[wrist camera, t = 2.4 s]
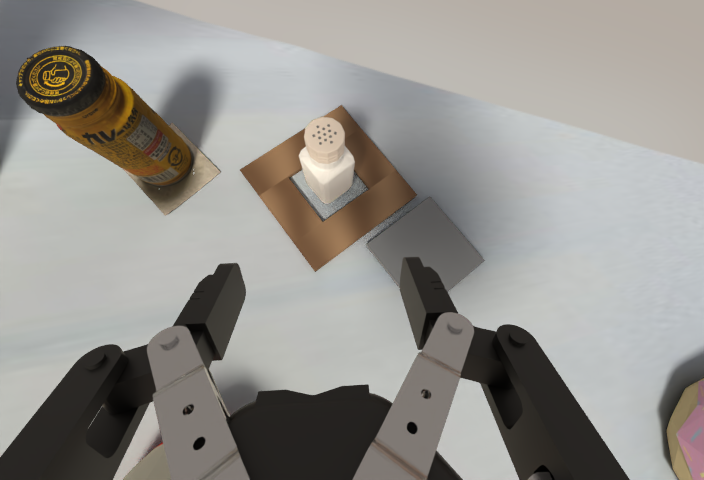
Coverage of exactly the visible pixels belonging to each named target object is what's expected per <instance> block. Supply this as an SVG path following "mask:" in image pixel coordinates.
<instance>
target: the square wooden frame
mask: <svg viewBox="0 0 704 480" xmlns="http://www.w3.org/2000/svg"><path fill="white" fill-rule="evenodd" d="M324 117H328V118H333V119H334V120H336V121H337V122H339V123H340V124H341V125H342V127H343V129H344V132H345V146H346V148H347V149H348V150H349V151H350V153H351V154H352V155H353V157H354V161H355V165H354V172H355V173H356V174H357V175H358V176H359V178H360V179H361V180H362V181H363V183H364V184H365V185H366V186H367V187H368V190H367V191H366V192H364V193H363V194H361V195H360V196H359V197H357V198H356V199H354V200H353V201H352V202H350V203H349V204H347V205H346V206H345V207H343V208H342V209H340V210H339V211H338V212H336V213H335V214H333V215H332V216H331V217H329V218H328V219H326V220H325V221H324V222H322V221H321V219H320V218H319V217H318V215H317V214H316V213H315V211H314V210H313V209H312V208H311V206H310V205H309V204H308V202H307V201H306V200H305V198H304V197H303V196H302V195H301V193H300V192H299V191H298V189H297V188H296V187H295V185H294V184H293V183H292V182H291V180H290V179H289V178H290V177H292V176H293V175H295V174H296V173H298V172H299V171H301V170H302V165H301V162H300V158H299V154H300V152H301V150H302V149H303V148H304V147H305V146H306V144H305V140H304V134H305V129H303V130H302V131H300V132H299V133H297V134H295V135H294V136H292V137H291V138H289V139H288V140H286V141H284V142H283V143H281V144H280V145H278V146H277V147H275V148H273V149H272V150H270V151H269V152H267V153H266V154H264V155H262V156H261V157H259V158H258V159H256V160H255V161H253V162H251V163H250V164H248V165H247V166H245V167H244V168H242V169H240V171H241V172H242V174H243V175H244V176H245V178H246V179H247V180H248V182H249V183H250V184H251V186H252V187H253V188H254V190H255V191H256V192H257V194H258V195H259V197H260V198H261V199H262V201H263V202H264V203H265V205H266V206H267V207H268V209H269V210H270V211H271V213H272V214H273V215H274V217H275V218H276V219H277V221H278V222H279V224H280V225H281V226H282V228H283V229H284V230H285V232H286V233H287V234H288V236H289V237H290V238H291V240H292V241H293V242H294V244H295V245H296V246H297V248H298V249H299V251H300V252H301V253H302V255H303V256H304V257H305V259H306V260H307V261H308V263H309V264H310V265H311V267H312V268H313V269H314V271H315V272H316V271H317V270H318V269H320V268H321V267H322V266H324V265H325V264H326V263H328V262H329V261H330V260H332V259H333V258H334V257H336V256H337V255H338V254H340V253H341V252H342V251H344V250H345V249H346V248H348V247H349V246H350V245H352V244H353V243H354V242H356V241H357V240H358V239H360V238H361V237H362V236H364V235H365V234H366V233H368V232H369V231H371V230H372V229H373V228H375V227H376V226H377V225H379V224H380V223H381V222H383V221H384V220H385V219H387V218H388V217H389V216H391V215H392V214H393V213H395V212H396V211H397V210H399V209H400V208H401V207H403V206H404V205H405V204H407V203H408V202H409V201H411V200H412V199H413V198H415V197H416V196H417V194H416V193H415V192H414V191H413V189H412V188H411V187H410V186H409V185H408V183H407V182H406V181H405V180H404V179H403V178H402V176H401V175H400V174H399V173H398V172H397V170H396V169H395V168H394V167H393V166H392V165H391V163H390V162H389V161H388V160H387V159H386V157H385V156H384V155H383V154H382V153H381V152H380V150H379V149H378V148H377V147H376V146H375V144H374V143H373V142H372V141H371V140H370V139H369V137H368V136H367V135H366V134H365V133H364V131H363V130H362V129H361V128H360V127H359V126H358V124H357V123H356V122H355V121H354V120H353V118H352V117H351V116H350V115H349V114H348V113H347V111H346V110H345V109H344V108H343V107H342V105H341V106H339V107H338V108H336V109H335V110H333V111H331V112H330V113H328V114H327V115H325V116H324Z"/></svg>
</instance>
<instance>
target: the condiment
mask: <svg viewBox="0 0 704 480" xmlns="http://www.w3.org/2000/svg"><path fill="white" fill-rule="evenodd" d="M16 84H17V88H18V93H19V95H20V97H21V98H22V99H23V100H24V101H25V102H26V103H27V104H28V105H29V106H30V107H31V108H32V109H34V110H36V111H37V112H39V113H42V114H44V115H45V116H46V117H47V118H49V119H50V120H52V121H53V122H54V123H56V124H57V126H58V127H59V129H60V130H62V131H63V132H64V133H65V134H66V135H67V136H69V137H70V138H72V139H74V140H75V141H77V142H78V143H81V144H82V145H84V146H86V147H87V148H89V149H91V150H93V151H94V152H96V153H98V154H99V155H101V156H103V157H104V158H106V159H108V160H110V161H111V162H113V163H114V164H116V165H118V166H119V167H121V168H123V169H124V171H125V172H126V173H127V174H128V175H129V176H130V177H131V178H132V179H133V180H134V181H135V182H136V184H137V185H138V186H139V187H140V188H141V189H142V190H143V191H144V193H145V194H146V195H147V196H148V197H149V198H150V199H151V200H152V201H153V202H154V203H155V204H156V206H157V207H158V208H159V209H160V210H161V211H162V212H163V213H164V215H167V214H168V213H170V212H171V211H172V210H174V209H175V208H177V207H178V206H179V205H181V204H182V203H183V202H184V201H186V200H187V199H188V198H190V197H191V196H192V195H193V194H195V193H196V192H197V191H199V190H200V189H201V188H202V187H203V186H204V185H205V184H207V183H208V182H209V181H211V180H212V179H213V178H214V177H215V176H216V175H217V174H219V173H220V171H219V170H218V169H217V168H216V167H215V166H214V165H213V164H212V163H211V162H210V161H209V160H208V159H207V158H206V157H205V156H204V155H203V153H202V152H201V151H200V150H199V149H198V148H197V147H196V146H195V145H194V144H193V143H192V142H191V141H190V140H189V139H188V138H187V137H186V136H185V135H184V134H183V133H182V132H181V131H180V130H179V129H178V128H177V127H176V126H175V125H174V124H173V123H171V124H170V125H167V124H166V123H165V122H164V120H163V119H162V118H161V117H160V116H159V115H158V114H157V113H156V112H154V111H153V110H152V109H151V108H150V107H149V106H148V105H147V104H146V103H145V102H144V101H143V100H142V99H141V98H140V97H139V95H137V94H136V92H135V91H134V90H133V89H131V88H130V87H129V86H128V85H127V84H126V83H125V82H124V81H122V80H121V79H119V78H117V77H115V76H112V75H111V74H110V73H109V72H108V71H107V70H106V69H104V68H103V67H101V66H100V64H99V63H98V62H97V61H95V59H94V58H93V57H91V56H90V55H88V54H87V53H85V52H84V51H82V50H79V49H75V48H72V47H69V46H59V47H52V48H48V49H44V50H41V51H39V52H37V53H35V54H33V55H32V56H31V57H30V58H27V61H26V62H25V63H24V64H23V65H22V66H21V68H20V70H19V72H18V77H17V81H16ZM193 169H194V171H193ZM193 172H195V174H194V175H193ZM159 188H160V190H159Z"/></svg>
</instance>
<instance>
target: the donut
mask: <svg viewBox="0 0 704 480" xmlns="http://www.w3.org/2000/svg"><path fill="white" fill-rule="evenodd" d="M666 432H667V438H668V444H669V449H670V455H671V461H672V467H673V470H674V472H675V473H676V475H677V477H678V479H679V480H704V378H703V379H701V380H699V381H697V382H695V383H694V384H692V385H690V386H688V387H686V388H685V390H684V392H683V394H682V396H681V398H680V400H679V402H678V404H677V406H676V408H675V410H674V412H673V414H672V416H671V418H670V421H669V424H668V428H667V431H666Z"/></svg>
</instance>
